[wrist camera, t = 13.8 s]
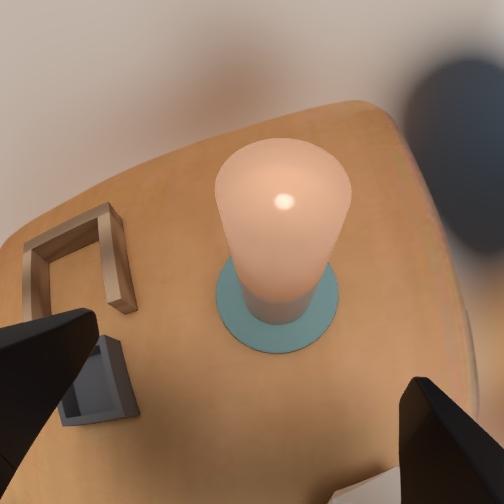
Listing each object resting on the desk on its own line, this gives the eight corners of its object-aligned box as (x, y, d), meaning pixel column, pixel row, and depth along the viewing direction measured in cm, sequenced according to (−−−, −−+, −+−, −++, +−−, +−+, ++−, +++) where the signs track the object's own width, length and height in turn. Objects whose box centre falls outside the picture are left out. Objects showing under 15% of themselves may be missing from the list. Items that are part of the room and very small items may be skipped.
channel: (137, 310, 22) (121, 298, 19) (45, 341, 20) (24, 333, 18) (121, 219, 26) (108, 201, 23) (41, 256, 24) (24, 243, 22)
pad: (261, 378, 19) (261, 377, 18) (196, 279, 23) (194, 276, 22) (359, 305, 21) (362, 303, 20) (289, 221, 24) (289, 217, 24)
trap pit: (140, 414, 18) (125, 416, 16) (80, 425, 17) (62, 426, 15) (119, 341, 20) (104, 334, 18) (64, 357, 20) (47, 352, 18)
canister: (243, 326, 20) (210, 247, 9) (243, 261, 22) (218, 141, 12) (314, 323, 20) (363, 241, 9) (308, 258, 22) (337, 138, 11)
